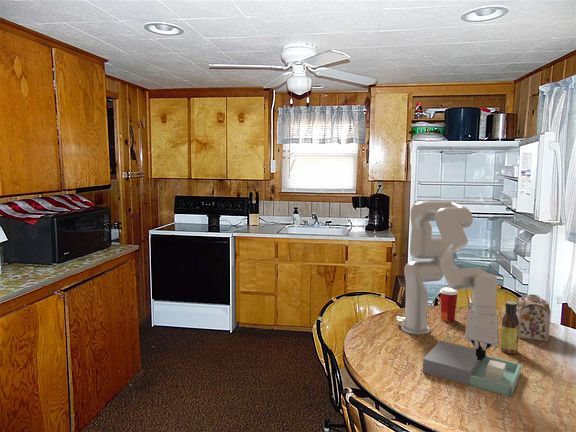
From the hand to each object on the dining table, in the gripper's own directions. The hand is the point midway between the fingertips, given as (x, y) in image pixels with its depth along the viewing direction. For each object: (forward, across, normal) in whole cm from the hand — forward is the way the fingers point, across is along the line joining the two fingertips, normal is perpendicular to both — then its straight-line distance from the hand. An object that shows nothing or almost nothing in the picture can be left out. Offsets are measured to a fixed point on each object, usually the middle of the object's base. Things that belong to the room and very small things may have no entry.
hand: (480, 358), depth 150 cm
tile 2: (+3, +5, 0) cm, 6 cm away
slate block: (+6, -9, 0) cm, 11 cm away
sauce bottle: (+6, +5, +28) cm, 29 cm away
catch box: (+6, +5, 0) cm, 8 cm away
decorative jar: (+6, +10, +52) cm, 53 cm away
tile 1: (0, +5, 0) cm, 5 cm away
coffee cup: (+6, -25, +50) cm, 56 cm away
